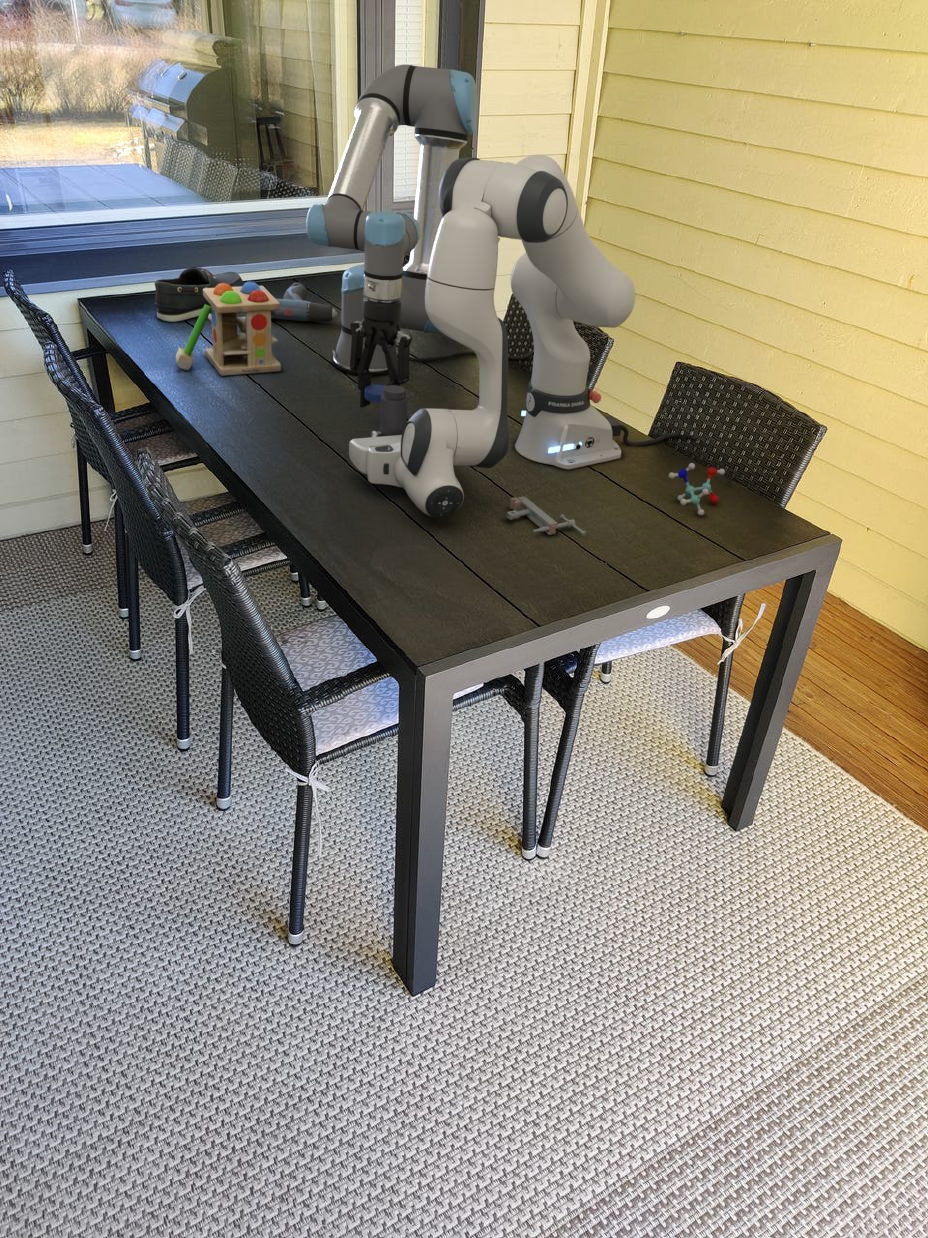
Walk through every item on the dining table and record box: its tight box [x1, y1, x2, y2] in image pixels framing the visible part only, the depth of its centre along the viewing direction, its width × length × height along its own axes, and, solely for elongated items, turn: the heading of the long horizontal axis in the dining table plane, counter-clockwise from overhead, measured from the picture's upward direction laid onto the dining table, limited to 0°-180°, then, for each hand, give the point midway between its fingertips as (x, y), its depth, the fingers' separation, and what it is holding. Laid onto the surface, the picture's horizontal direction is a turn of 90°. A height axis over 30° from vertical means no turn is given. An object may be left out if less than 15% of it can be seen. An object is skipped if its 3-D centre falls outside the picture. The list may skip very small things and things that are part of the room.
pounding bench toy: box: [174, 281, 282, 377], centre depth 225 cm, size 23×14×18 cm, turn 116°
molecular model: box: [668, 462, 726, 517], centre depth 188 cm, size 12×10×10 cm
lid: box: [364, 384, 387, 404], centre depth 203 cm, size 6×6×2 cm
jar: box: [379, 385, 409, 436], centre depth 189 cm, size 5×5×16 cm
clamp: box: [506, 496, 587, 537], centre depth 177 cm, size 15×2×10 cm
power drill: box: [271, 282, 338, 322], centre depth 265 cm, size 5×19×20 cm
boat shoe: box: [153, 265, 244, 323], centre depth 262 cm, size 13×33×10 cm, turn 147°
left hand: (377, 409), depth 205 cm, fingers closed on lid, 6 cm apart
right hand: (390, 432), depth 191 cm, fingers closed on jar, 5 cm apart
